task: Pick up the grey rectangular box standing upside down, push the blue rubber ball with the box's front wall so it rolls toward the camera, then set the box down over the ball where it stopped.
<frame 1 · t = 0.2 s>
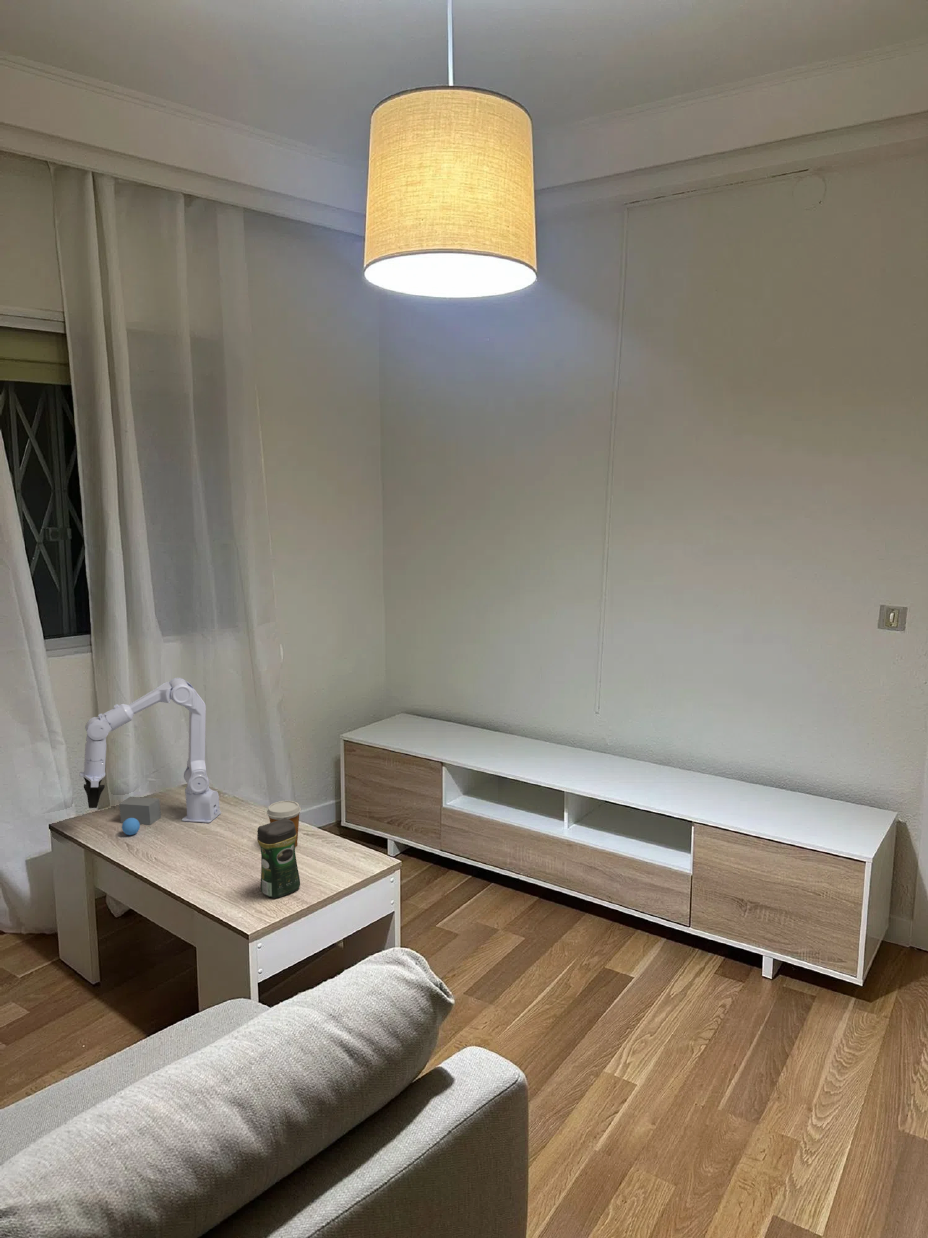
hand: (92, 803, 262), 10 cm above the table, tool pointing down, fingers open, 7 cm apart
disposable coffee cup: (286, 846, 255), on the table
grey rectangular box: (141, 820, 276), on the table
ball: (130, 826, 265), on the table
coffee jar: (280, 891, 230), on the table
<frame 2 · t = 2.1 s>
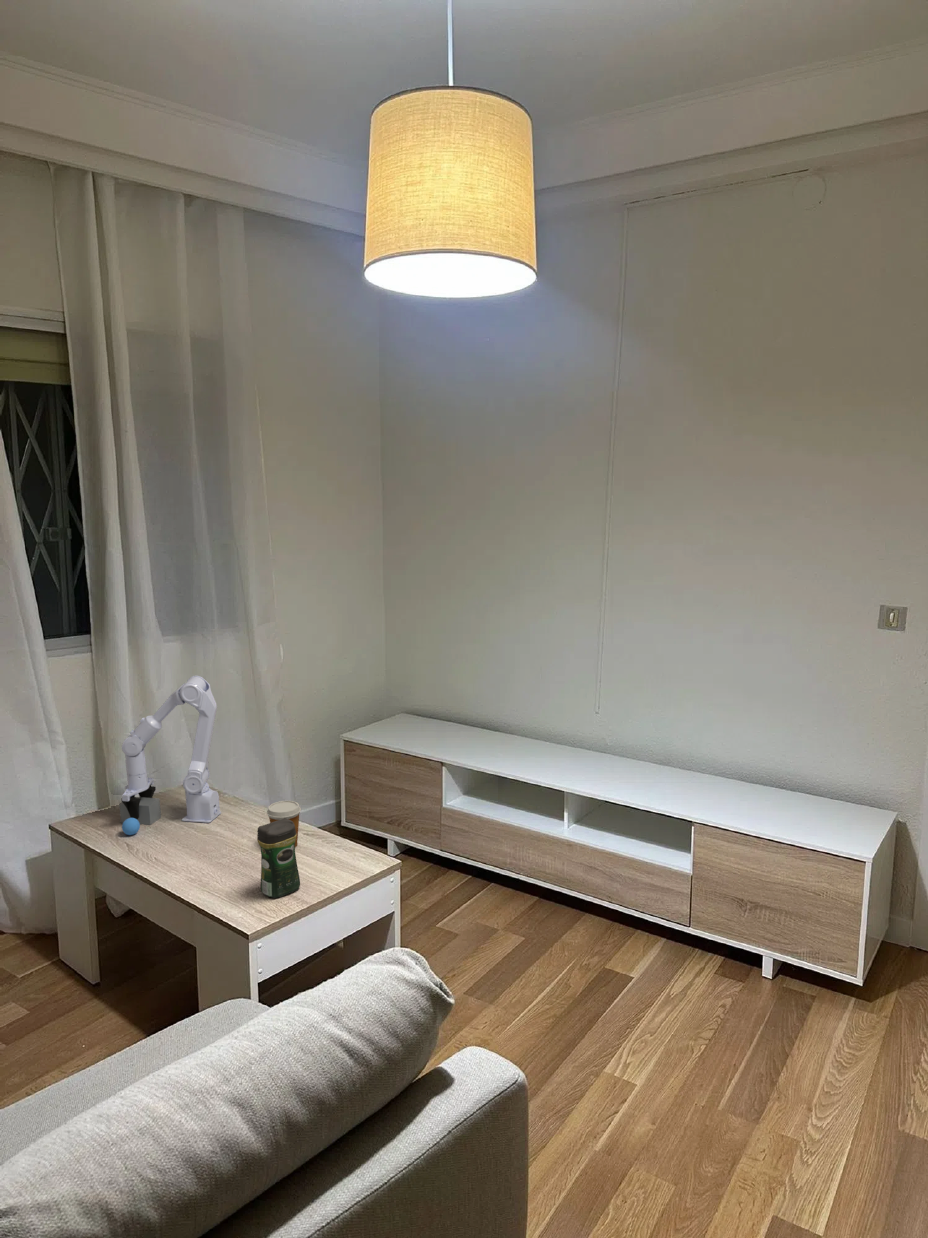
hand: (140, 814, 275), 2 cm above the table, tool pointing down, fingers closed on grey rectangular box, 6 cm apart
grey rectangular box: (141, 820, 276), on the table, touching gripper
everything else where it was.
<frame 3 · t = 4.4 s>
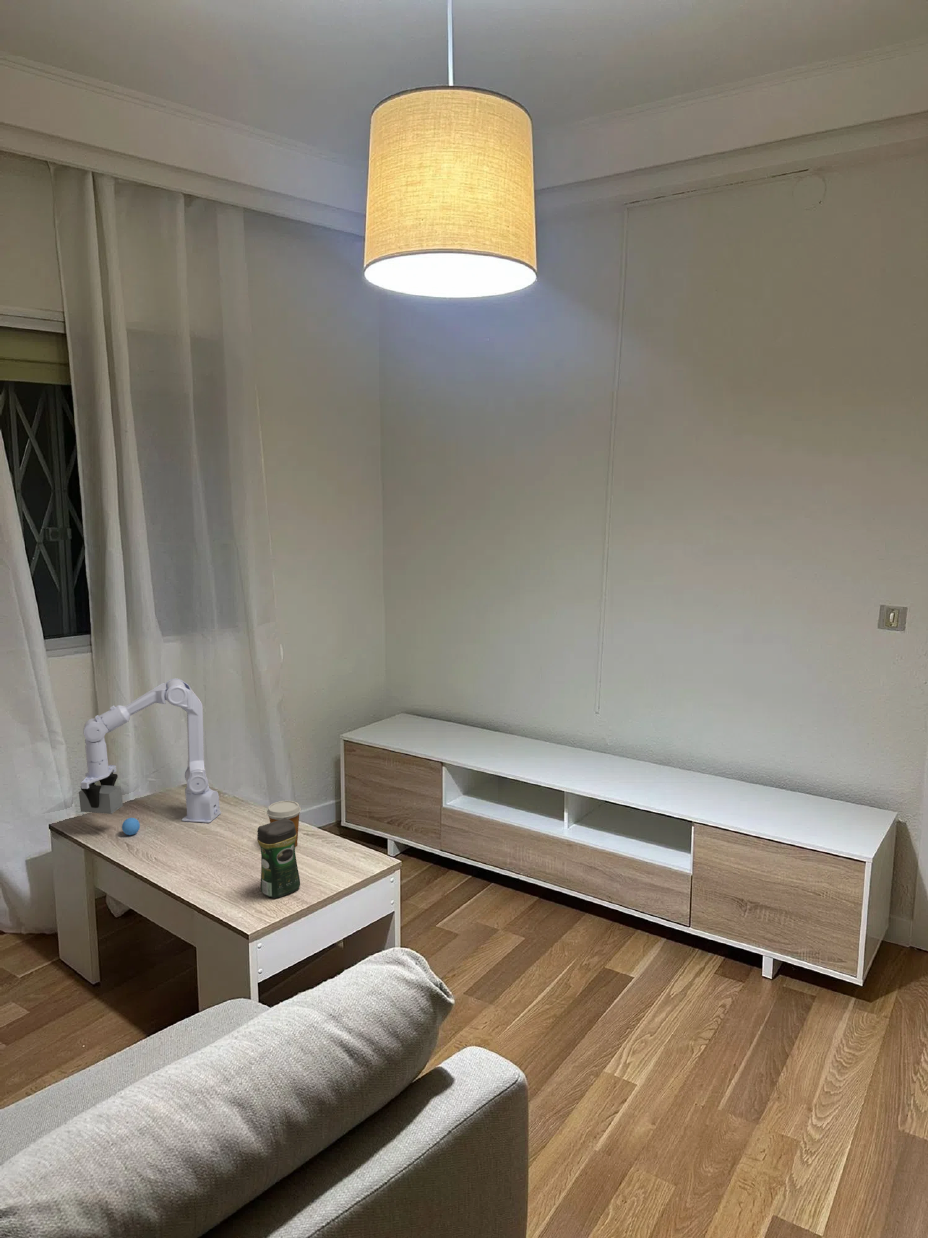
hand: (101, 803, 265), 9 cm above the table, tool pointing down, fingers closed on grey rectangular box, 6 cm apart
grey rectangular box: (101, 808, 266), point 7 cm above the table, touching gripper
everything else where it was.
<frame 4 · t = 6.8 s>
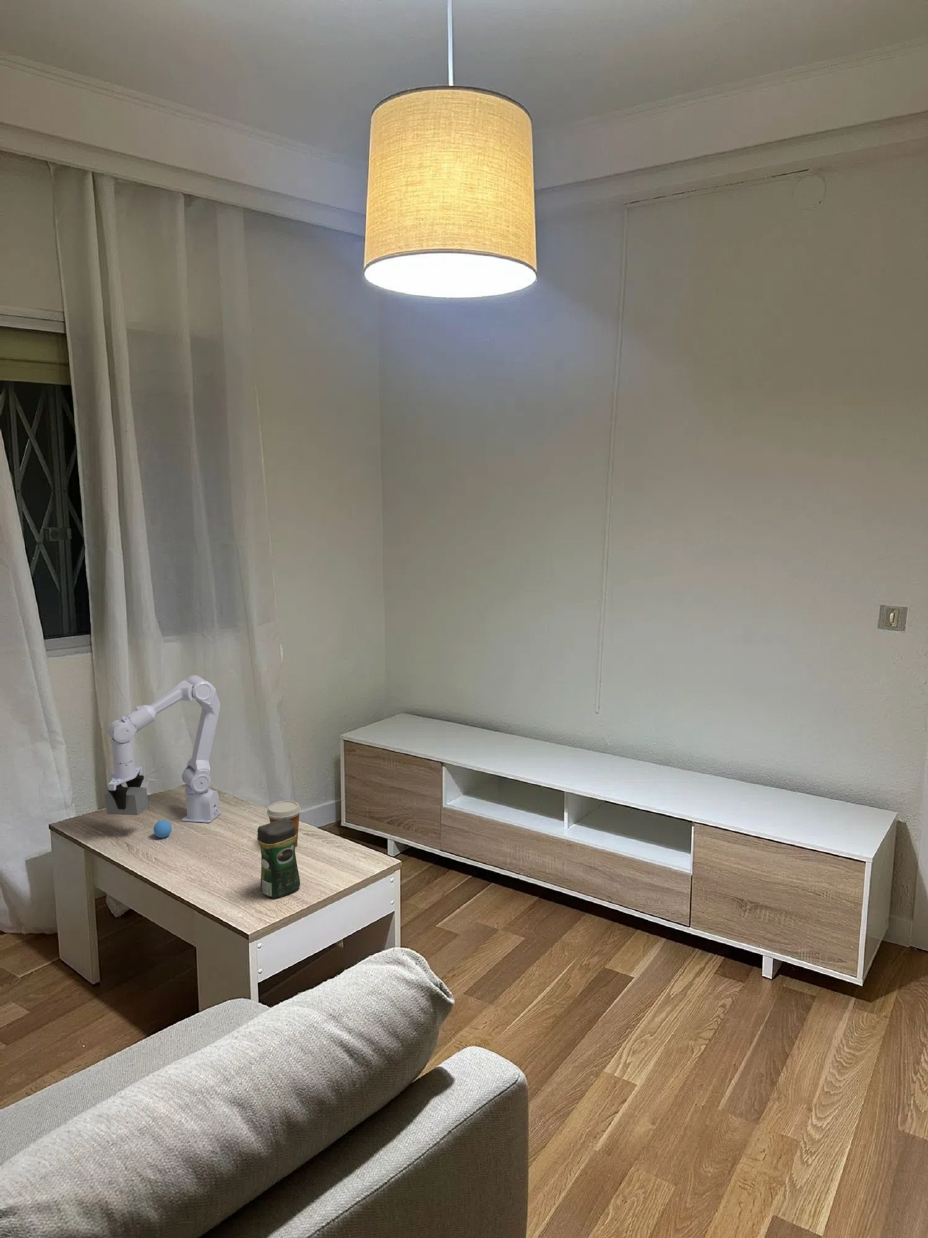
hand: (128, 804, 264), 9 cm above the table, tool pointing down, fingers closed on grey rectangular box, 6 cm apart
grey rectangular box: (128, 810, 264), point 7 cm above the table, touching gripper
ball: (162, 829, 263), on the table
everything else where it was.
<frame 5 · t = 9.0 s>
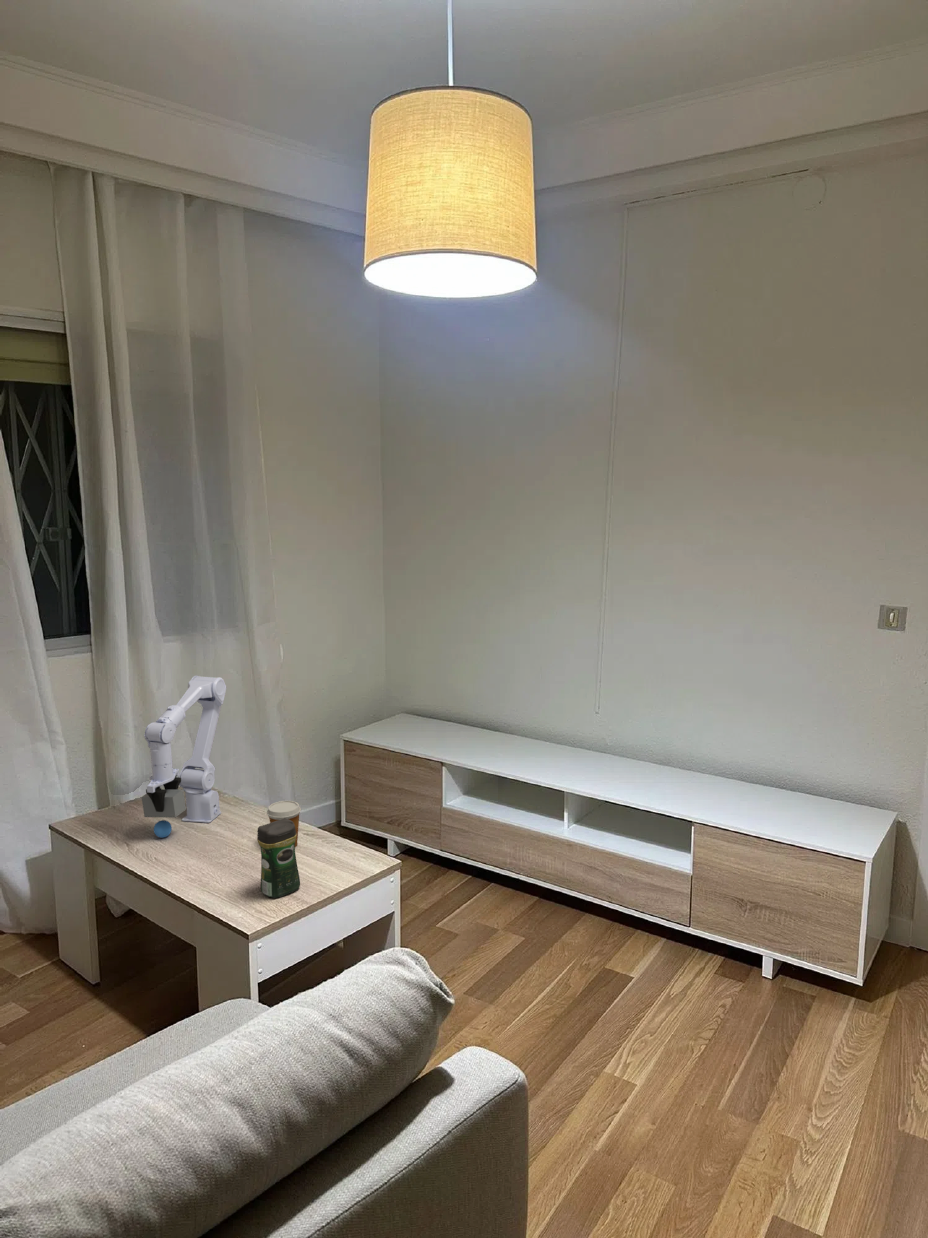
hand: (165, 807, 261), 9 cm above the table, tool pointing down, fingers closed on grey rectangular box, 6 cm apart
grey rectangular box: (165, 813, 262), point 7 cm above the table, touching gripper
everything else where it was.
when the fingers open (2 cm above the table, at t = 11.0 s): grey rectangular box stays where it is, on the table.
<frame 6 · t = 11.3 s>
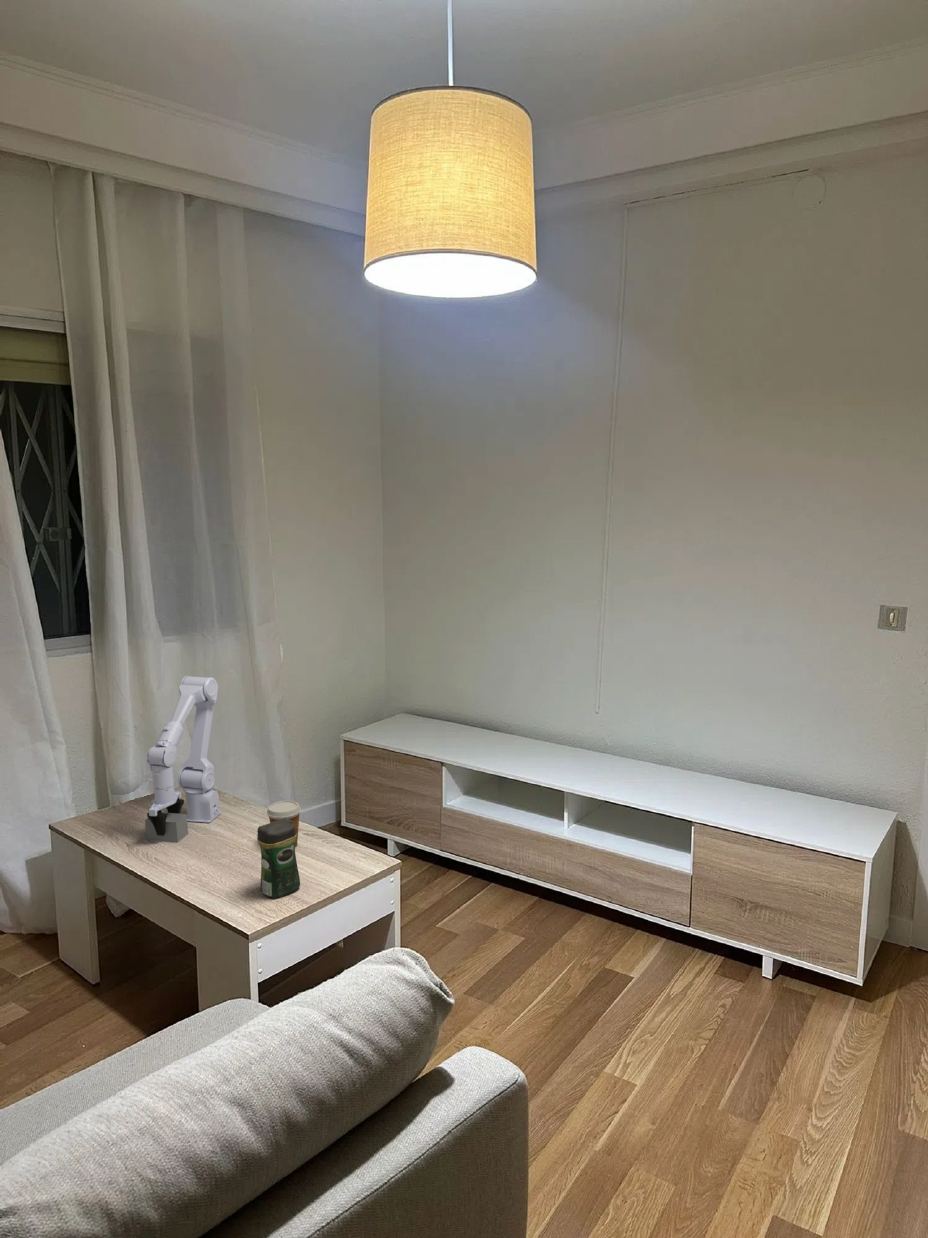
hand: (167, 829, 262), 2 cm above the table, tool pointing down, fingers open, 7 cm apart
grey rectangular box: (167, 837, 263), on the table
everything else where it was.
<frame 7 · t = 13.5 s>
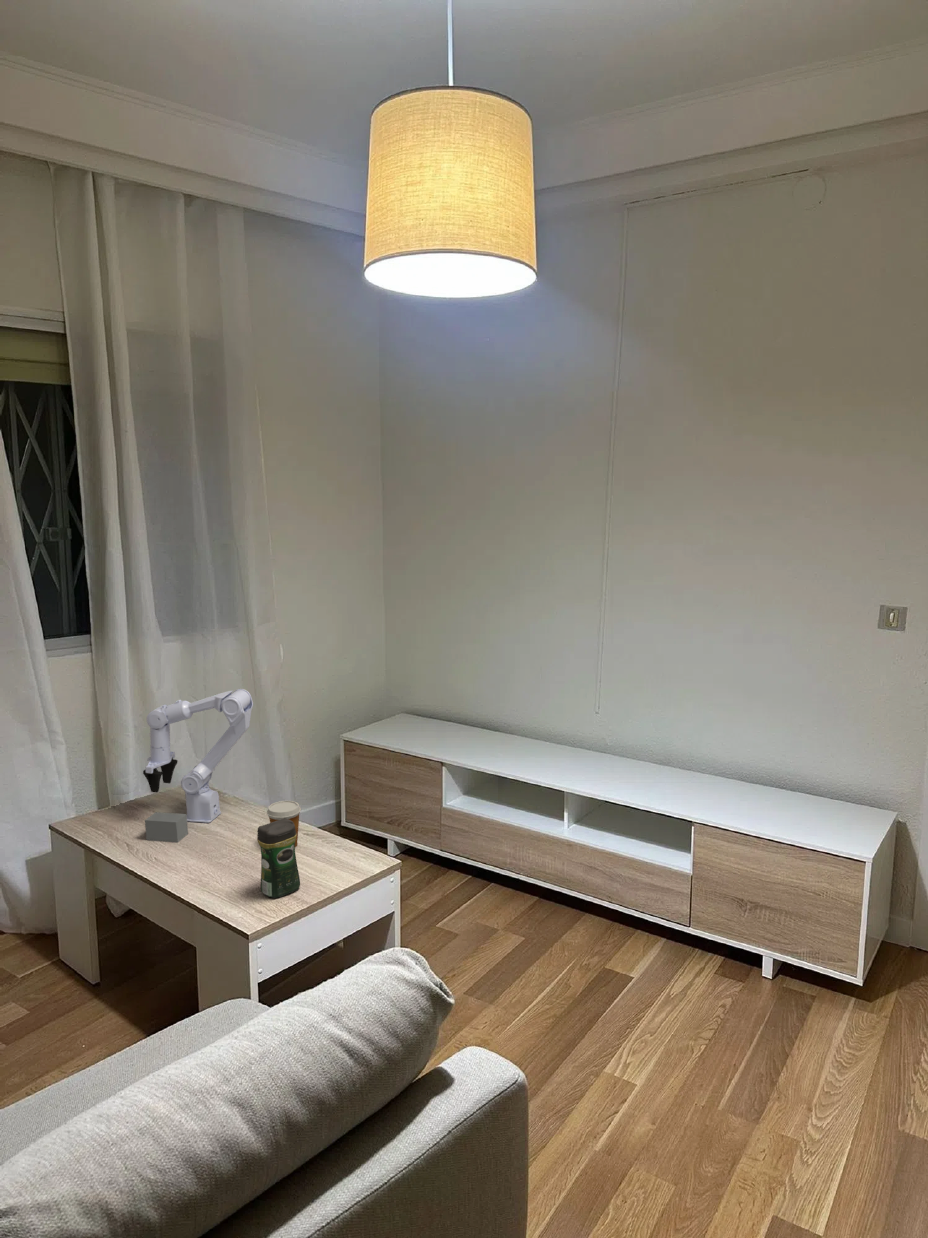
hand: (161, 787, 276), 10 cm above the table, tool pointing down, fingers open, 7 cm apart
nothing on the table moved.
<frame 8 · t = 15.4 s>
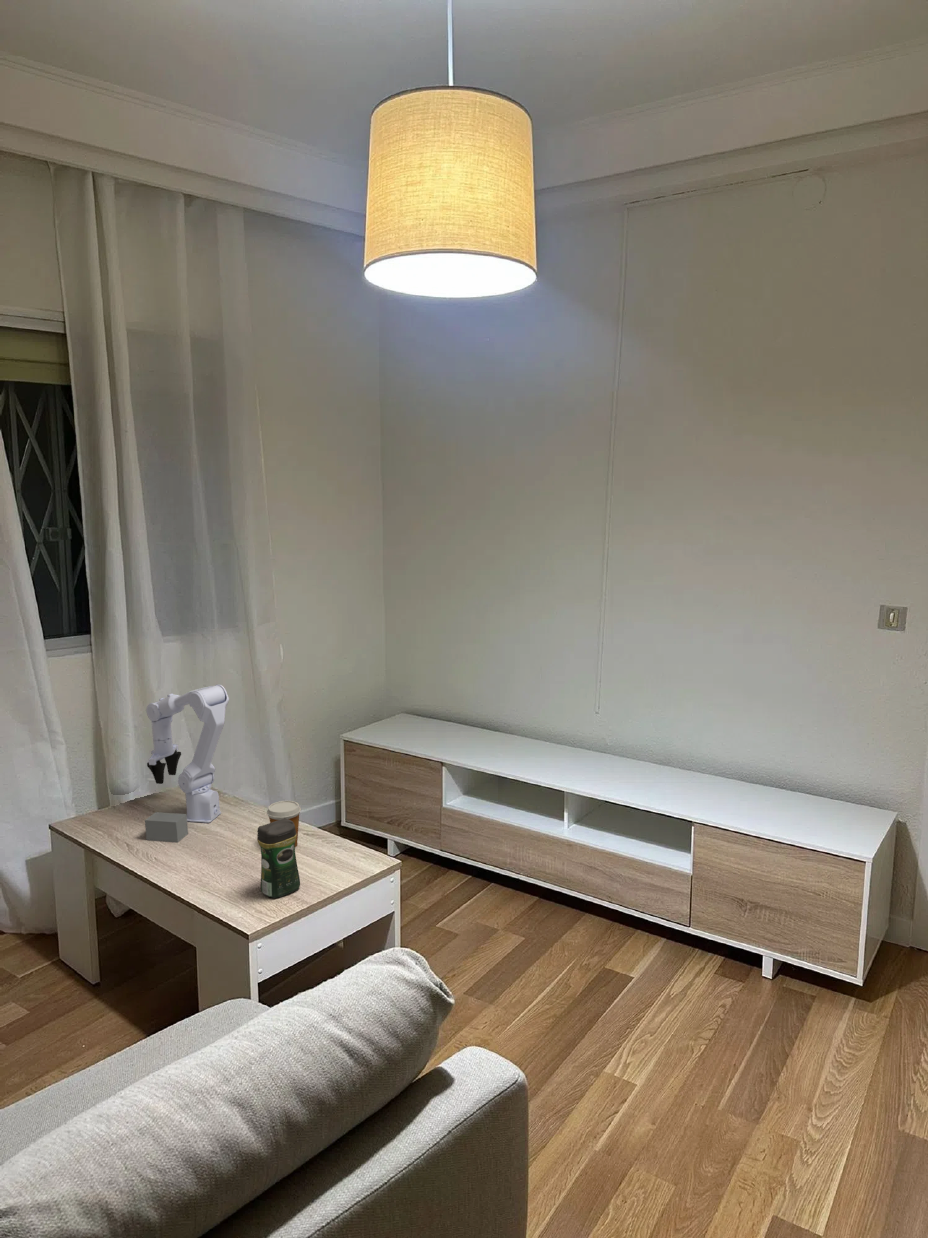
hand: (166, 779, 284), 9 cm above the table, tool pointing down, fingers open, 7 cm apart
nothing on the table moved.
at the end: ball 1.2 cm from the grey rectangular box (horizontally); grey rectangular box on the table; ball moved 10.5 cm from its start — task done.
